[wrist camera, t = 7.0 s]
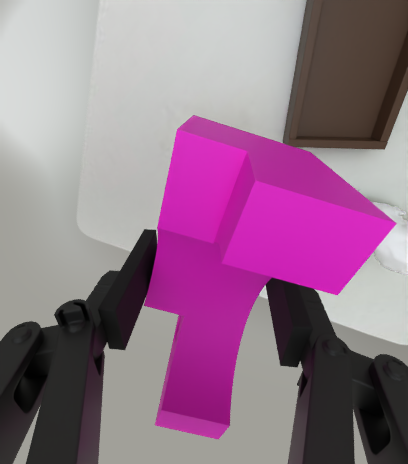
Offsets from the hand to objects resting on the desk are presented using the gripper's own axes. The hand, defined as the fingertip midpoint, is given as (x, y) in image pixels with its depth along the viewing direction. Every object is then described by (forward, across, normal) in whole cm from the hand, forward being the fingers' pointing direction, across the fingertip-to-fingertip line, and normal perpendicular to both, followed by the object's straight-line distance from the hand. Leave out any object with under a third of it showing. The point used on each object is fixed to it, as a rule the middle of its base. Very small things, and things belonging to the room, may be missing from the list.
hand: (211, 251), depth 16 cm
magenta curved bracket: (0, 0, 0) cm, 0 cm away
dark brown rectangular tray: (+17, +12, +13) cm, 25 cm away
